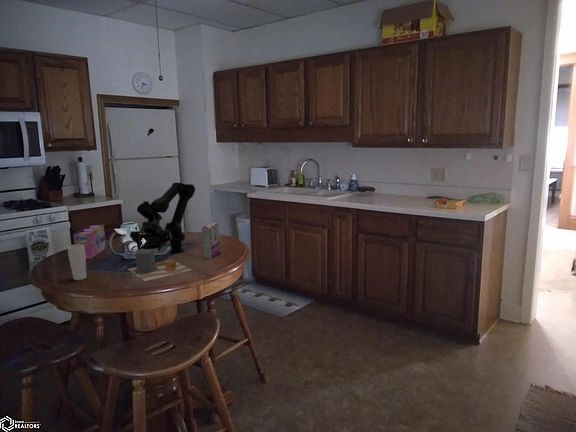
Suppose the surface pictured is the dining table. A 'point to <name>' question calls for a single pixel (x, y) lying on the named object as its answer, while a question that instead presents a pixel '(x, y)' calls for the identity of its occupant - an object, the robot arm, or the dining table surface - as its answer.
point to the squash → (152, 240)
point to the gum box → (91, 240)
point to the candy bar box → (211, 240)
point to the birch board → (159, 271)
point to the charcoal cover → (145, 260)
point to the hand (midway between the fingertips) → (148, 251)
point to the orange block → (170, 265)
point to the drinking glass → (77, 261)
